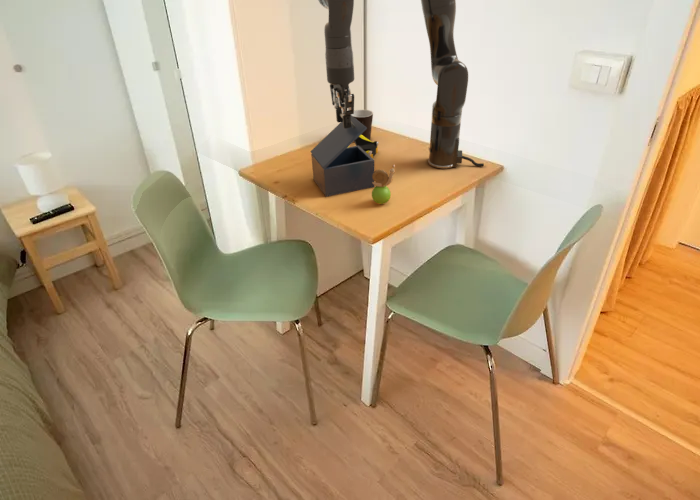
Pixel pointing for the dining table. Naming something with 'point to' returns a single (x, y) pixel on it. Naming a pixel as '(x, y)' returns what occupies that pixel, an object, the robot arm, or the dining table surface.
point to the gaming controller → (367, 145)
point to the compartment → (345, 172)
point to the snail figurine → (382, 186)
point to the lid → (337, 141)
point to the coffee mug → (364, 121)
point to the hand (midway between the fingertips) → (343, 124)
